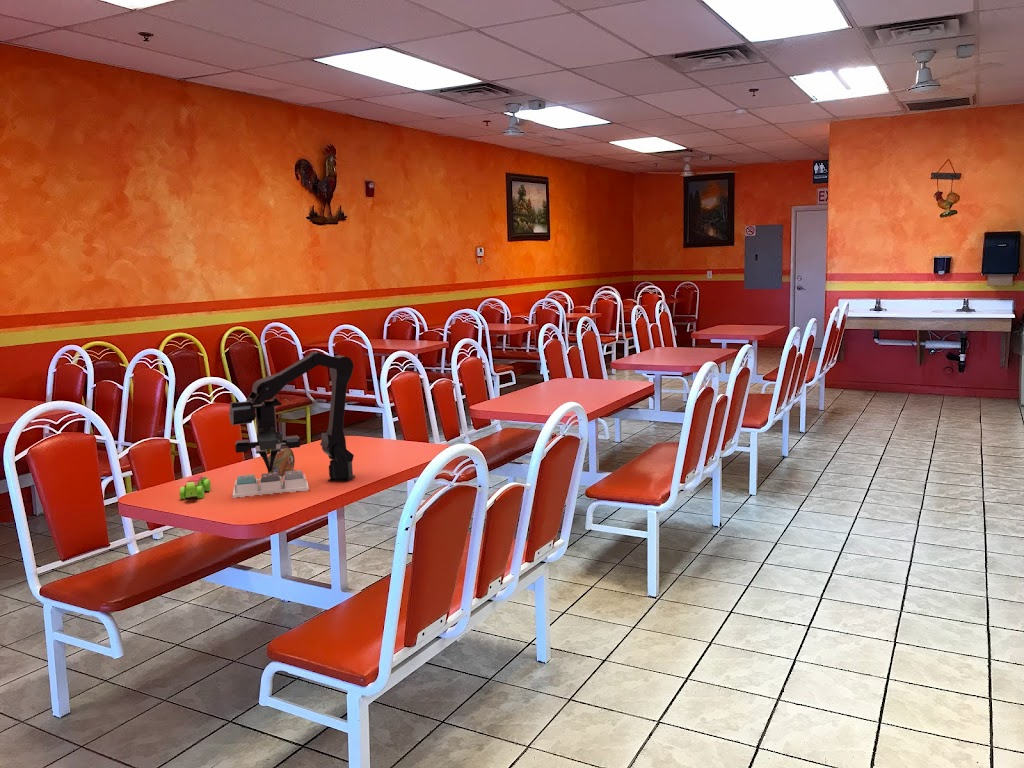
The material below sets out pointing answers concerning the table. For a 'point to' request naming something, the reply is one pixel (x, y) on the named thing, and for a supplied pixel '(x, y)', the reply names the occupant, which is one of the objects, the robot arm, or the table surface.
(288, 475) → the key two dots
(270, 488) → the keypad
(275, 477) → the key three dots
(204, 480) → the toy crocodile
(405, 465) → the table surface
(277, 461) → the brown flat rounded piece
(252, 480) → the key one dot
